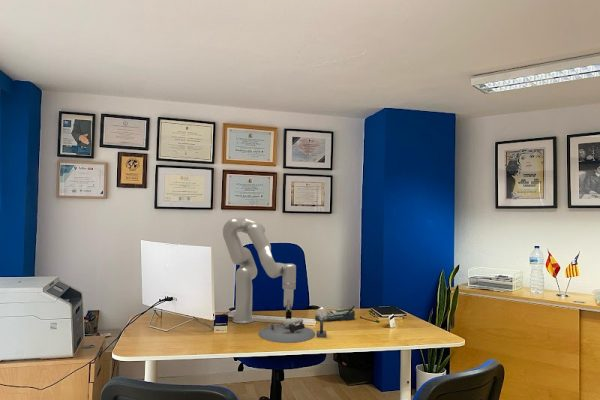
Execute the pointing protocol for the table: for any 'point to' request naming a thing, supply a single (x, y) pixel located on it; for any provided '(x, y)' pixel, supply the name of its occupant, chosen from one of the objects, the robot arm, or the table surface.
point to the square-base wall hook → (321, 322)
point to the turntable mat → (286, 334)
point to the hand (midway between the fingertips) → (288, 318)
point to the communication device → (339, 314)
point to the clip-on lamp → (292, 324)
